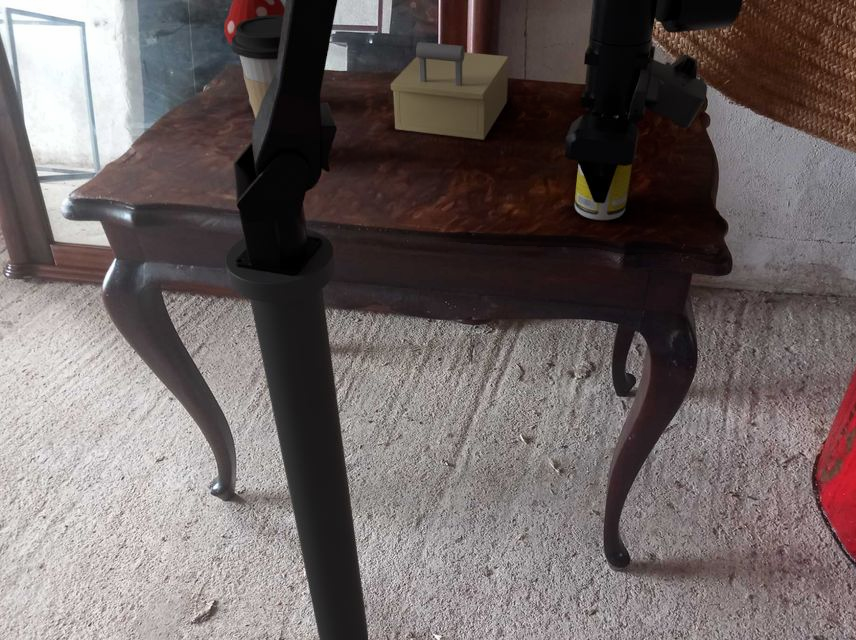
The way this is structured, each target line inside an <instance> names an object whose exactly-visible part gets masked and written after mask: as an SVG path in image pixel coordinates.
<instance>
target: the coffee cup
mask: <svg viewBox="0 0 856 640" xmlns="http://www.w3.org/2000/svg"><path fill="white" fill-rule="evenodd" d="M283 17H284V15H267V16H259V17H254V18H251V19H247V20H245V21H242V22H241V23H239V24H238V25H237V26H236V34H235V35H234V36H233V38H232V44H231V46H230V47H231V51H232V52H233V53H235V54H236V55H238V56H239V59H240V62H241V66H242V70H243V73H242V74H243V79H244V82H245V86H246V90H247V93H248V96H249V97H250V101H251V104H252V106H251V109H252V112H253V115H254V119H255V120H256V117H257V114H258V111H259V108H260V105H261V103H262V100H263V98H264V96H265V94H266V92H267V90H268V88H269V86H270V84H271V82H272V80H273V77H274V74H275V70H276V64H277V57H278V50H279V44H280V37H281V30H282V24H283ZM250 101H249V102H250ZM251 104H250V105H251Z"/></svg>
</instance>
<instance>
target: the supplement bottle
mask: <svg viewBox="0 0 856 640" xmlns="http://www.w3.org/2000/svg"><path fill="white" fill-rule="evenodd" d="M602 117H603V116H602ZM616 118H618V116H617V117H616ZM632 166H633V164H631V165H628V166H621V165H617V168H616V171H615V174H614V177H613V180H612V183H611V186H610V189H609V192H608V195H607V198H606V200H605V203H596V202H594V201H593V198H592V195H591V193H590V190H589V188H588V185H587V182H586V180H585V177H584V175H583V172H582V170H581V168H580V165H579V164H578V166H577V167H578V168H577V175H576V176H577V177H576V185H575V194H574V209H575V211H576V212H577V213H578V214H579V215H581V216H582V217H585V218H587V219H590V220H595V221H611V220H615V219H618V218H620V217H621V216H623V214H624V213H625V211H626V206H627V202H628V201H627V200H628V194H629V193H628V192H629V187H630V181H631V173H632Z"/></svg>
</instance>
